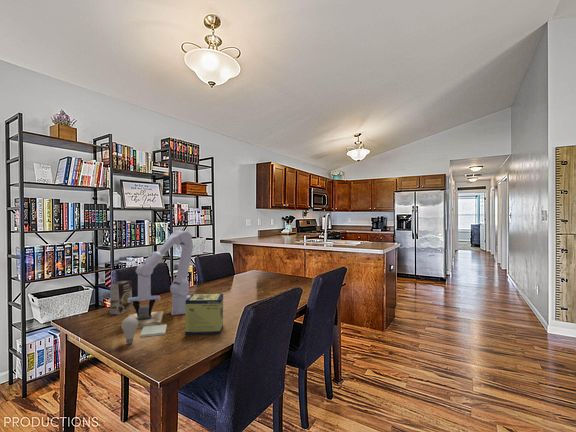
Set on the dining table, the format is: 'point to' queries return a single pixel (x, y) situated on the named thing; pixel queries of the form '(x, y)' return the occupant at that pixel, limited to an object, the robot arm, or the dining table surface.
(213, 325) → the protein box
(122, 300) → the coffee box
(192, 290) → the dining table surface
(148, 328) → the pad
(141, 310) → the peg
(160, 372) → the dining table surface
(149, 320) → the pocket board
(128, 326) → the lightbulb
